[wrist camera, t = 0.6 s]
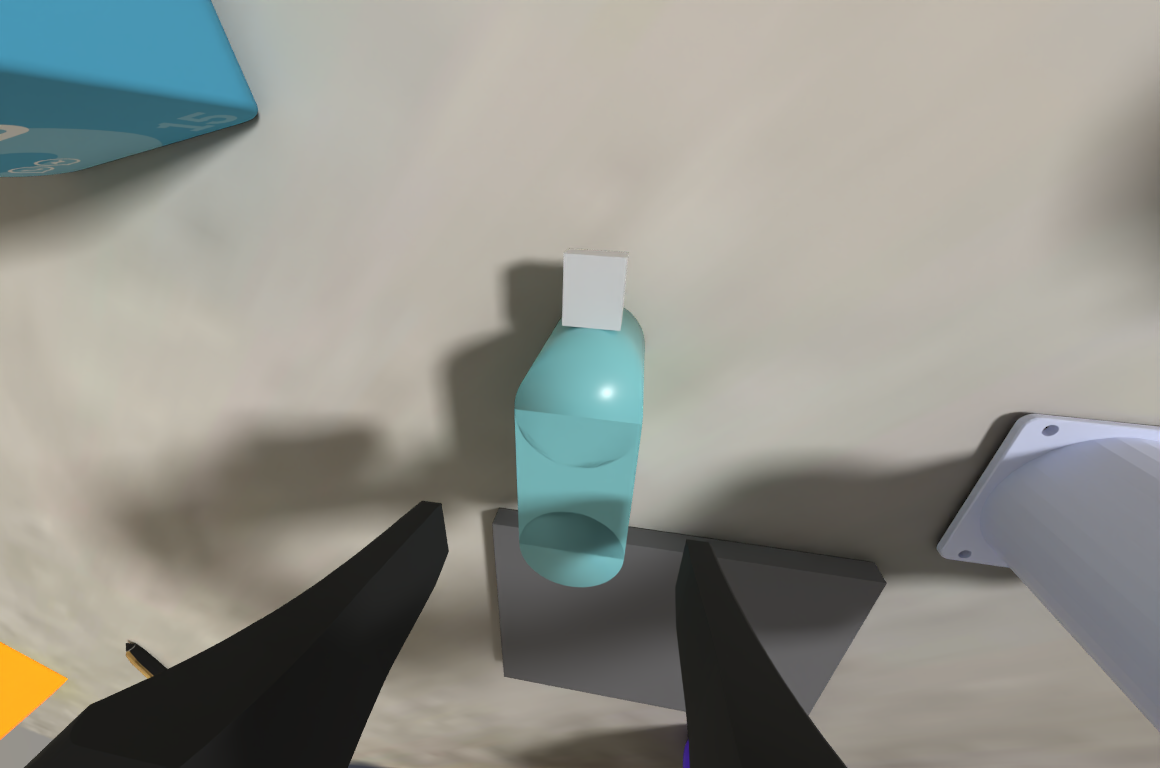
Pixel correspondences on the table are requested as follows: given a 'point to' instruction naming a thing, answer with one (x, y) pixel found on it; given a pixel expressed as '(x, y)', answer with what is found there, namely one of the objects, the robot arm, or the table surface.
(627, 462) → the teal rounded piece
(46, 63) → the data package
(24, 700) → the orange juice
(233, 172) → the table surface
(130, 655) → the fountain pen
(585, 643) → the rubber mat
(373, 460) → the table surface
